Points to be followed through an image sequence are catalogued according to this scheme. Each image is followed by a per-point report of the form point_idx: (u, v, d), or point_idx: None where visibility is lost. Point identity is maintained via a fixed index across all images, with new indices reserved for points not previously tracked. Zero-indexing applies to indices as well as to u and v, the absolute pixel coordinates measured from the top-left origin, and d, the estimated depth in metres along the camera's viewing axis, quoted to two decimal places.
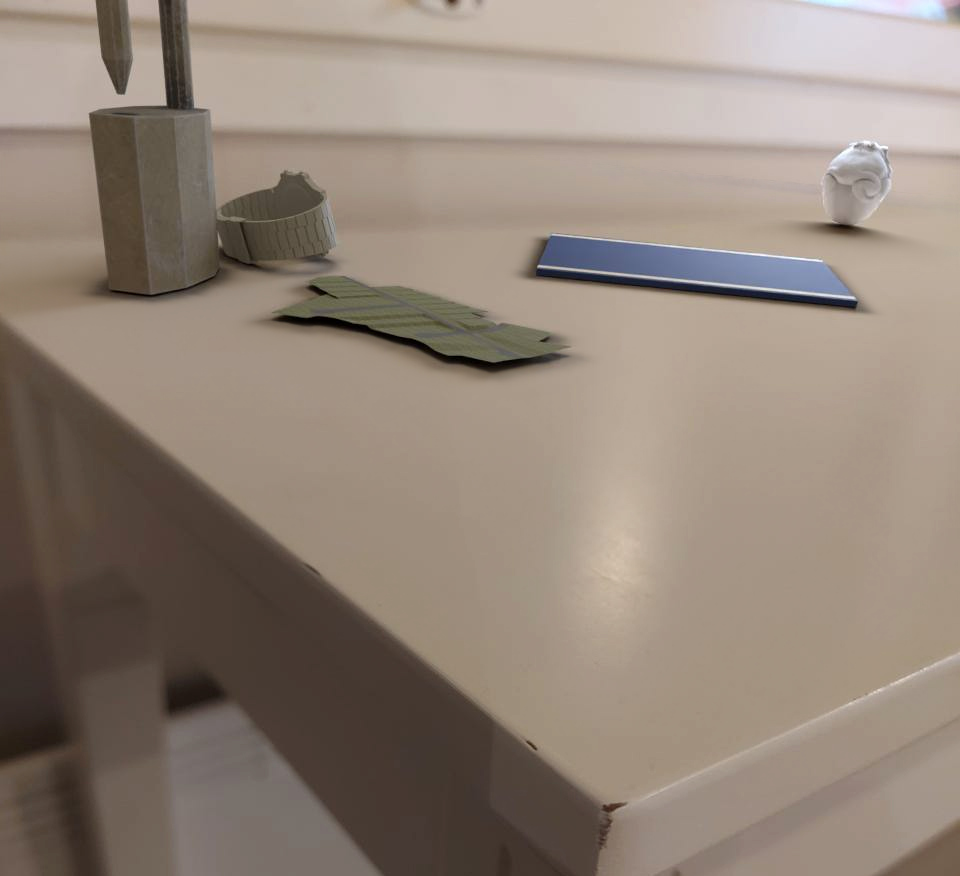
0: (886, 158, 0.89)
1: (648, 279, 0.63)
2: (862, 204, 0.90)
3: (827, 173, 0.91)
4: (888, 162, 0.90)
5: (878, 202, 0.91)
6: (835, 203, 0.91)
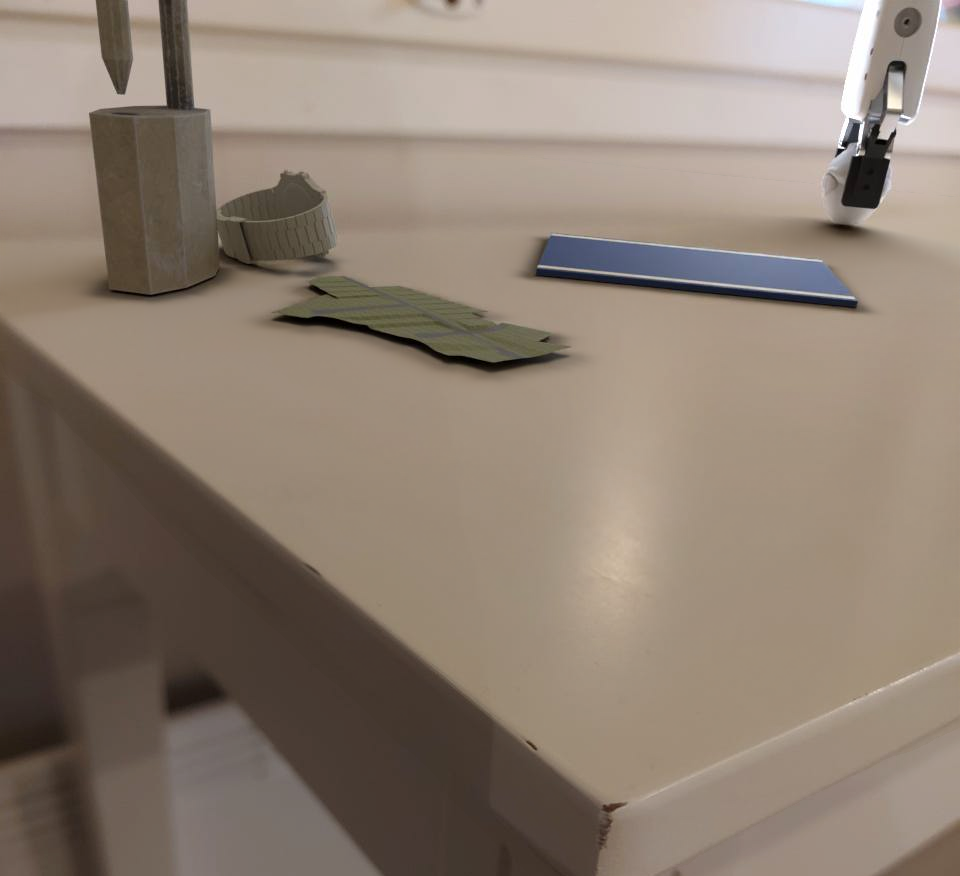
0: None
1: (648, 279, 0.63)
2: None
3: (827, 173, 0.91)
4: None
5: None
6: (834, 203, 0.91)
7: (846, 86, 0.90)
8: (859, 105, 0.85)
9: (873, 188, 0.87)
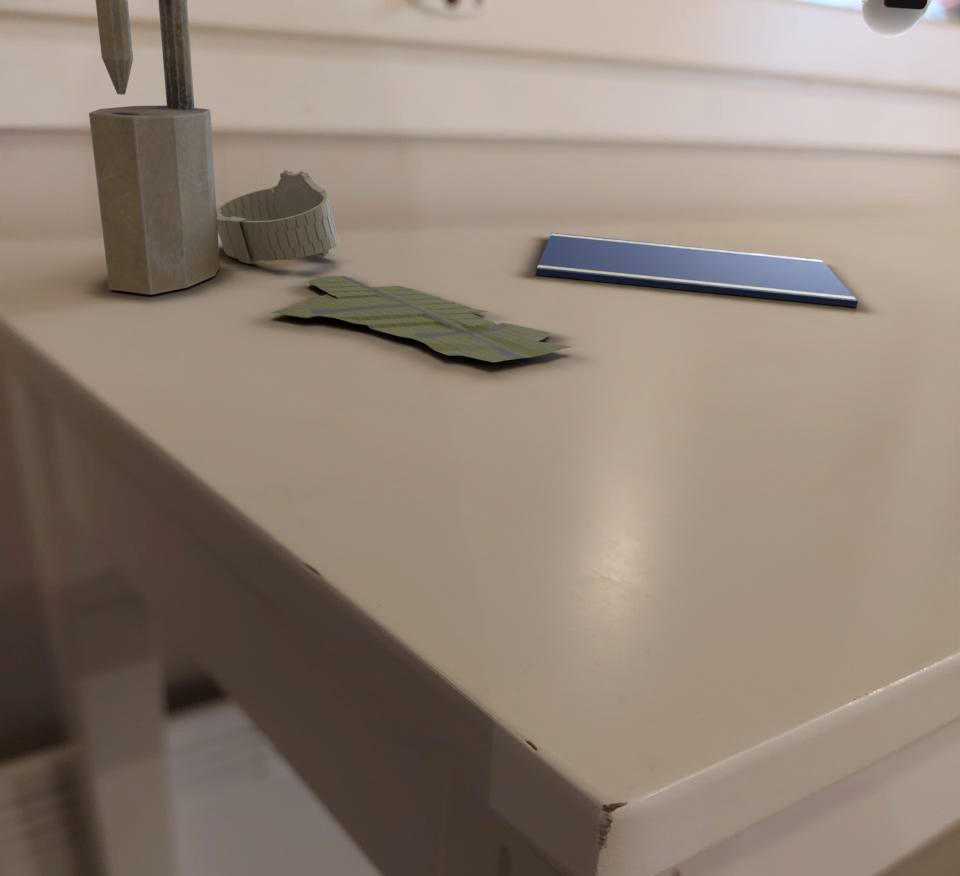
0: None
1: (648, 279, 0.63)
2: None
3: None
4: None
5: (925, 7, 0.81)
6: (876, 8, 0.81)
7: None
8: None
9: None
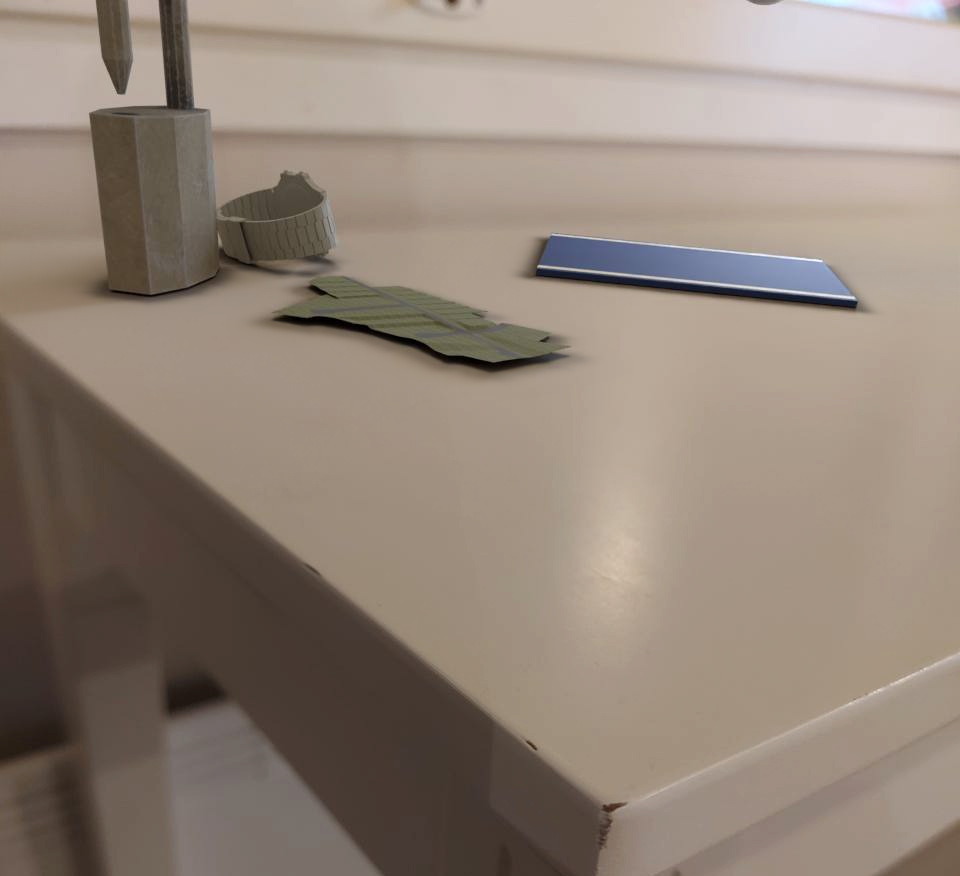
0: None
1: (648, 279, 0.63)
2: None
3: None
4: None
5: None
6: None
7: None
8: None
9: None
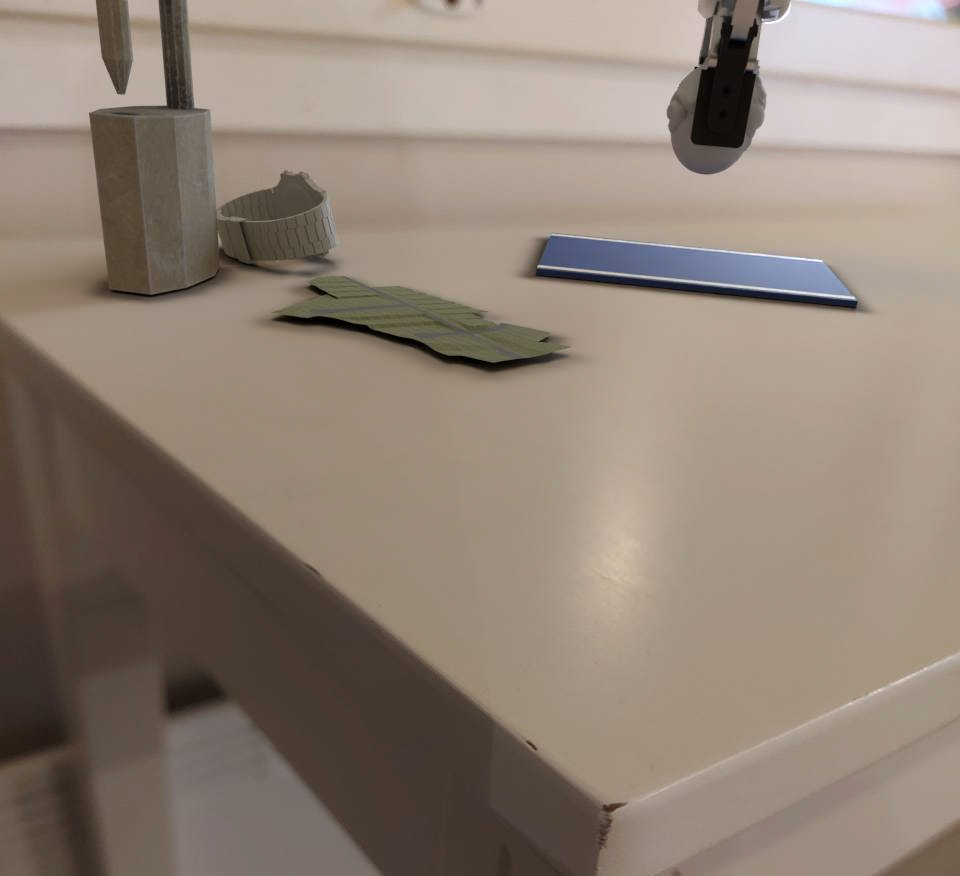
0: None
1: (648, 279, 0.63)
2: None
3: (673, 99, 0.63)
4: (759, 81, 0.62)
5: (747, 140, 0.63)
6: (684, 141, 0.63)
7: None
8: None
9: (733, 116, 0.60)
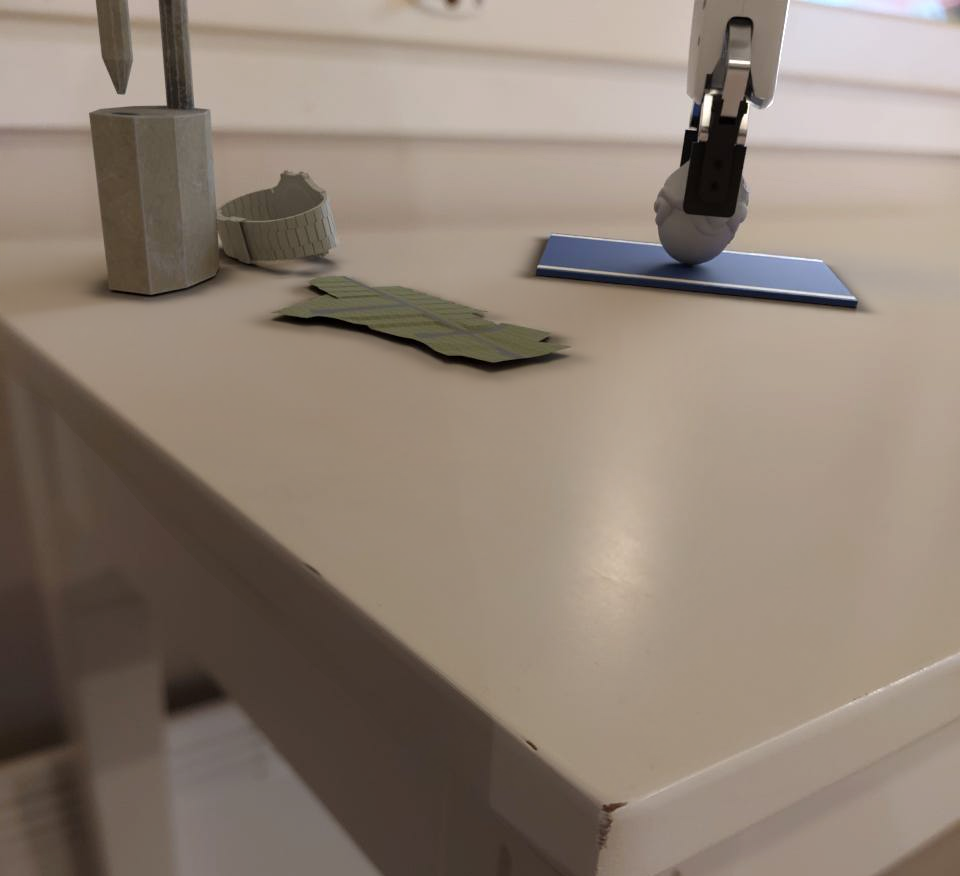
0: None
1: (648, 279, 0.63)
2: (705, 237, 0.65)
3: (660, 195, 0.66)
4: (741, 180, 0.65)
5: (730, 234, 0.66)
6: (670, 236, 0.66)
7: None
8: (693, 82, 0.60)
9: (724, 188, 0.61)
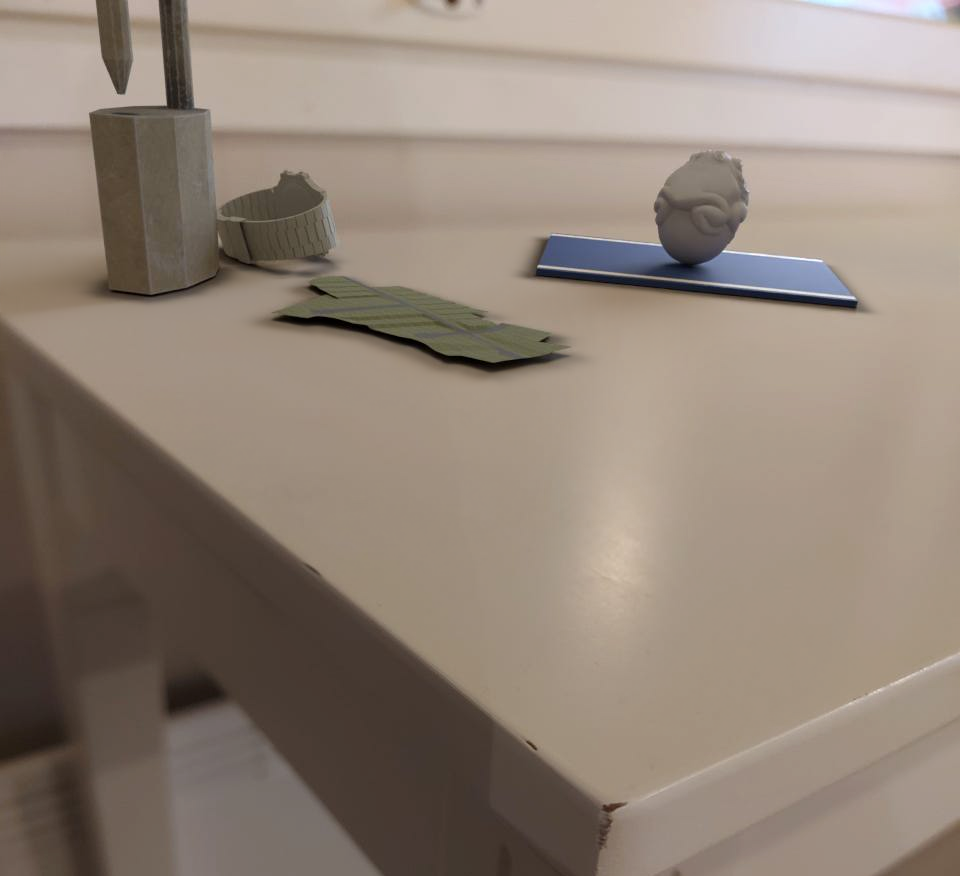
0: (738, 174, 0.65)
1: (648, 279, 0.63)
2: (705, 237, 0.65)
3: (660, 195, 0.66)
4: (741, 180, 0.65)
5: (730, 234, 0.66)
6: (670, 236, 0.66)
7: None
8: None
9: None
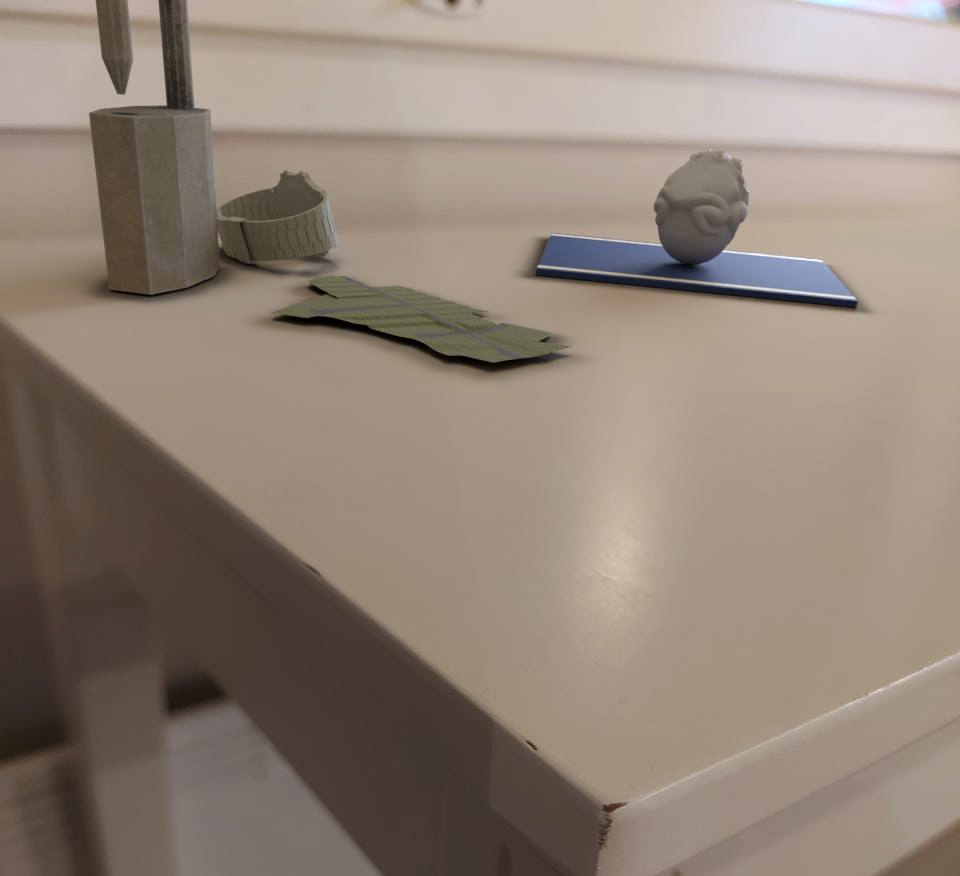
0: (738, 174, 0.65)
1: (648, 279, 0.63)
2: (705, 237, 0.65)
3: (660, 195, 0.66)
4: (741, 180, 0.65)
5: (730, 234, 0.66)
6: (670, 236, 0.66)
7: None
8: None
9: None
